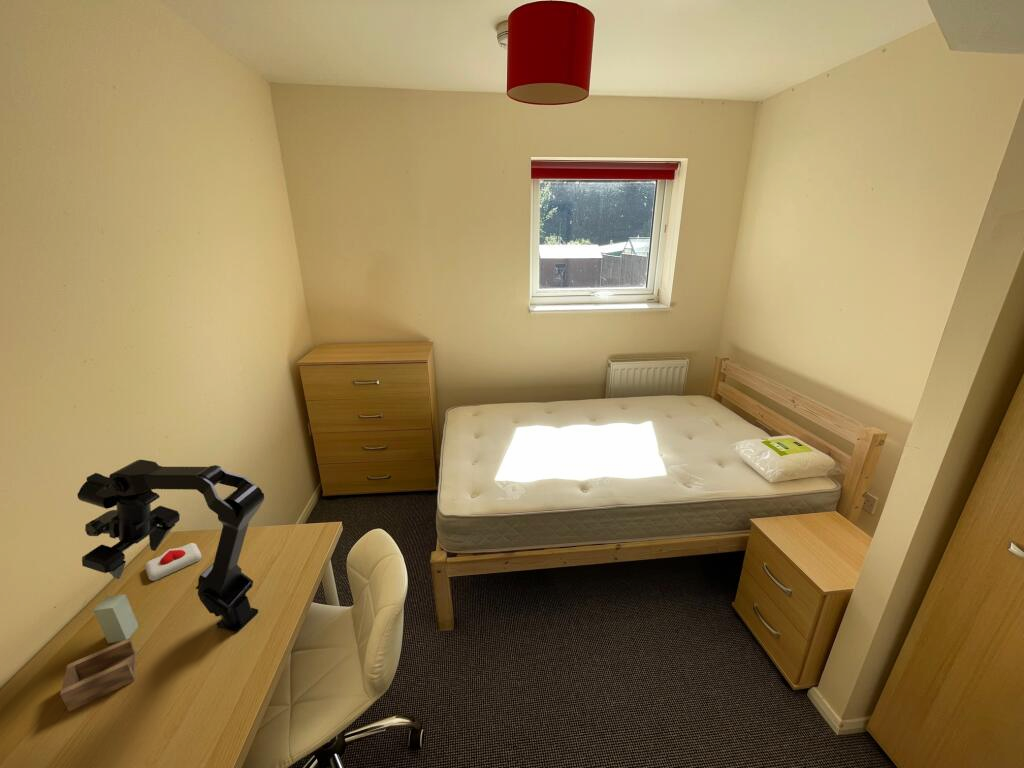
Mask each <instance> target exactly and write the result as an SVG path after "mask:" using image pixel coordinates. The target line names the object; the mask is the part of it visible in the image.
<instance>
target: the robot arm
mask: <svg viewBox="0 0 1024 768" xmlns="http://www.w3.org/2000/svg"><path fill="white" fill-rule="evenodd" d="M218 484H220V485H225V486H228V487H233V488H236V489H235V490H234V491H233V492H231V493H230V494H229V495H228V496H227V497H225V498H224V499H223V498H220V497H219V494H218V492H217V489H216V488H215V486H216V485H218ZM153 490H192V491H193V490H196V491H198V492H199V493H200V494H202V495H203V498H204V500H205V502H206V505H207V507H208V508H209V510H210V511H212V512H214V513H215V514H216V515H217V520H218V521H219V522H220V523H221V524H222V527H221V528H222V529H221V532H220V536H219V540H218V544H217V548H216V553H215V556H214V560H213V563H211V564H210V565H209V566H208V567H207V568H206V569H204V571H203V572H202V573H201V574H200V575H199V576H198V583H197V586H196V587H195V590H197V596H198V598H199V600H200V602H201V603H202V605H203V606H204V607H205V608H206V610H207V611H208V612H209V614H214V617H220V618H221V619H220V621H218V622H217V624H216V627H217V628H220V629H222V630H225V631H229V632H232V633H235V634H236V633H238V632H239V631H240V630H241V629H242V628H244V627H245V626H246V624H248V623H249V622H250V621H251V619H252V618H254V617H255V616H256V615H257V614H258V613H259V609H257V608H254V607H251V604H250V601H249V597H248V596H247V593H248V592H249V591H250V590H251V589H252V588H253V585H254V580H253V579H252V578H250V577H249V576H247V575H246V574H245V573H244V572H242V568H241V567H240V565H239V559H240V555H241V551H242V550H243V549H242V548H243V545H244V542H245V537H246V534H247V530H248V528H249V523H250V522H251V520H252V518H253V517H254V516H255V514H256V513H257V512H258V511H259V510H260V508H261V506H262V504H263V502H264V500H265V493H264V492H263V491H262V489H261V488H260V487H259V486H258V485H257V484H256V483H254V482H252V481H251V480H250V479H249V478H247V477H246V476H244V475H240V474H236V473H232V472H229V471H227V470H226V469H224V468H223V467H222V466H220V465H215V464H214V465H210V466H162V465H159V464H158V463H157V462H156V461H153V460H146V459H137V460H135V461H132V462H131V463H129V464H127V465H125V466H123V467H122V468H120V469H117V470H116V471H114V472H112V473H111V474H109V477H108V476H105V475H102V474H101V473H98V472H95V473H92V474H91V475H89V476H87V477H86V481H85V482H84V483H83V484H82V485H81V487H80V489H79V490H78V492H77V499H78V500H79V501H81V502H84V503H88V504H91V505H93V506H97V507H100V508H103V509H107V510H108V509H111V508H114V507H115V506H116V509H112V510H108V511H107V512H104V513H103V514H101V515H100V516H98V517H96V518H95V519H93V520H91V521H88V522H87V523H86V524H85V528H84V530H85V533H86V535H87V536H89V537H99V536H100V535H101V534H106V535H107V534H109V538H111V539H114V540H115V539H116V538H118V540H119V541H118V542H116V544H114V545H112V546H108V545H105V544H100V545H98V546H97V547H95V548H94V549H91V550H90V551H89V552H88V553H86V554H85V555H83V556H82V557H81V564H82V567H84V568H87V569H90V570H94V571H97V572H100V573H103V574H107V573H109V574H110V575H111V576H112V577H113V578H114V579H117V580H119V579H121V577H122V574H123V572H124V569H125V566H126V563H127V562H126V561H127V560H125V559H126V555H125V554H124V553H125V551H127V550H129V549H130V548H131V547H133V546H134V545H135V544H137V545H138V543H140V542H141V541H143V540H144V539H146V538H147V537H148V539H149V540H148V541H149V547H150V550H151V551H153V552H156V551H157V549H158V548H159V547H160V545H161V544H162V543H163V541H164V540H165V538H166V537H167V535H168V534H169V533H170V532H171V530H172V529H173V528H174V527H175V526H176V524H178V522H179V521H180V516H181V515H180V513H179V511H178V510H175V509H172V508H169V507H165V506H163V505H158V506H156V507H155V508H153V509H152V508H151V507H152V506H151V504H152V503H153V502H154V501H155V502H156V500H158V499H159V498H160V497H161V496H160V495H159V494H158V493H157V492H155V491H153Z"/></svg>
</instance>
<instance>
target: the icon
mask: <svg viewBox="0 0 1024 768" xmlns="http://www.w3.org/2000/svg"><path fill="white" fill-rule="evenodd" d="M201 559H202V553H201V551H200V549H199V547H198V546H197V544H196V543H195V542H191V543H188V544H185V545H183V546H180V547H176V548H170V549H167V550H166V551H165V552H163V553H162V554H161V555H160V556H157V557H154V558H153V559H150V560H148V561H147V562H146V563H145V565H144V568H145V570H146V575H147V577H148V579H149V580H150V581H153V582H155V581H158V580H159V579H162V578H164V577H166V576H169V575H171V574H174V573H176V572H177V571H179V570H182V569H184V568H186V567H189V566H190V565H192V564H195V563H196V562H199V561H201Z"/></svg>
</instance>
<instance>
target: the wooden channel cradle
mask: <svg viewBox="0 0 1024 768" xmlns="http://www.w3.org/2000/svg"><path fill="white" fill-rule="evenodd" d="M134 646H135V645H134V644H133V641H132V640H131V638H128V639H126V640H124V641H121V642H116V643H115V644H112V645H110V646H107V647H106V648H103V649H101V650H98V651H96V652H94V653H92V654H90V655H87V656H85V657H82V658H80V659H77V660H75V661H72V662H71V663H68V664H67V665H66V670H65V674H64V677H63V682H62V686H61V690H60V694H59V695H60V697H61V700H62V701H63V703H64V705H65V707H66V709H67V710H68V712H69V713H70V712H72V711H74V710H76V709H78V708H80V707H83V706H84V705H86V704H89V703H91V702H93V701H95V700H97V699H99V698H101V697H103V696H106V695H108V694H109V693H112V692H114V691H116V690H118V689H121V688H122V687H124V686H126V685H128V684H131V683H134V681H135V678H136V677H135V676H136V668H137V666H136V665H137V651H136V649H135V647H134Z"/></svg>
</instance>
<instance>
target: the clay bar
mask: <svg viewBox="0 0 1024 768" xmlns="http://www.w3.org/2000/svg"><path fill="white" fill-rule="evenodd" d="M92 611H93V613H94V615H95V618H96V620H97V622H98V624H99V627H100V629H101V630H102V633H103V636H104V637H105V639H106V641H107V644H112V643H119V642H121V641H124V640H126V639H128V638H130V637H131V636H132V635H133V634H134V633H135V631H137V629H138V628H139V624H138V621H137V619H136V616H135V614H134V611H133V609H132V607H131V604H130V602H129V599H128V597H127V595H126V593H122V594H121V593H120V594H113V595H107V596H104V598H103V599H102V600H101V601H100V602H99V603H98V604H97V606H95V607H94V609H93V610H92ZM130 639H131V638H130Z"/></svg>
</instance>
